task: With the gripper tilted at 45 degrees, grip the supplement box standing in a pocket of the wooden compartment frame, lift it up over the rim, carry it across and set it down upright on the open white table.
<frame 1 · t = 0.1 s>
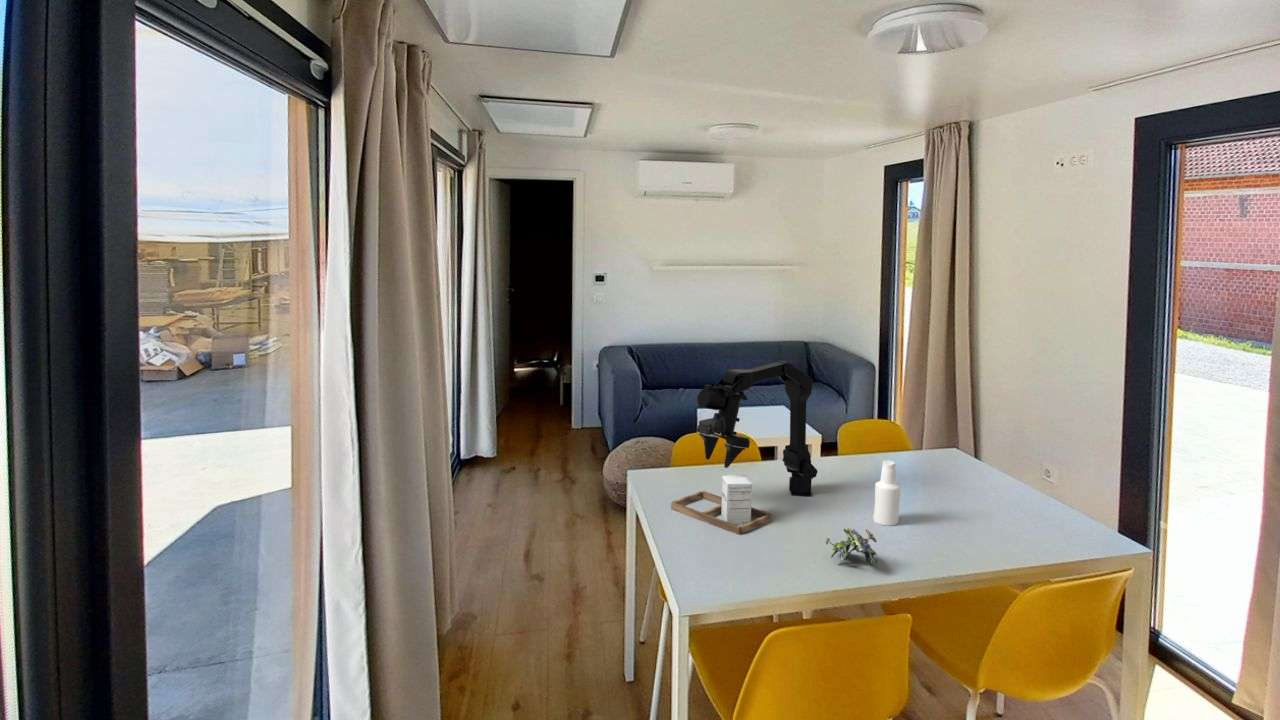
hand: (716, 463, 203), 15 cm above the table, tool pointing down, fingers open, 9 cm apart
wooden compartment frame: (735, 520, 200), on the table
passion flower: (852, 564, 173), on the table
spray bottle: (885, 522, 200), on the table
supplement box: (735, 521, 200), resting in wooden compartment frame
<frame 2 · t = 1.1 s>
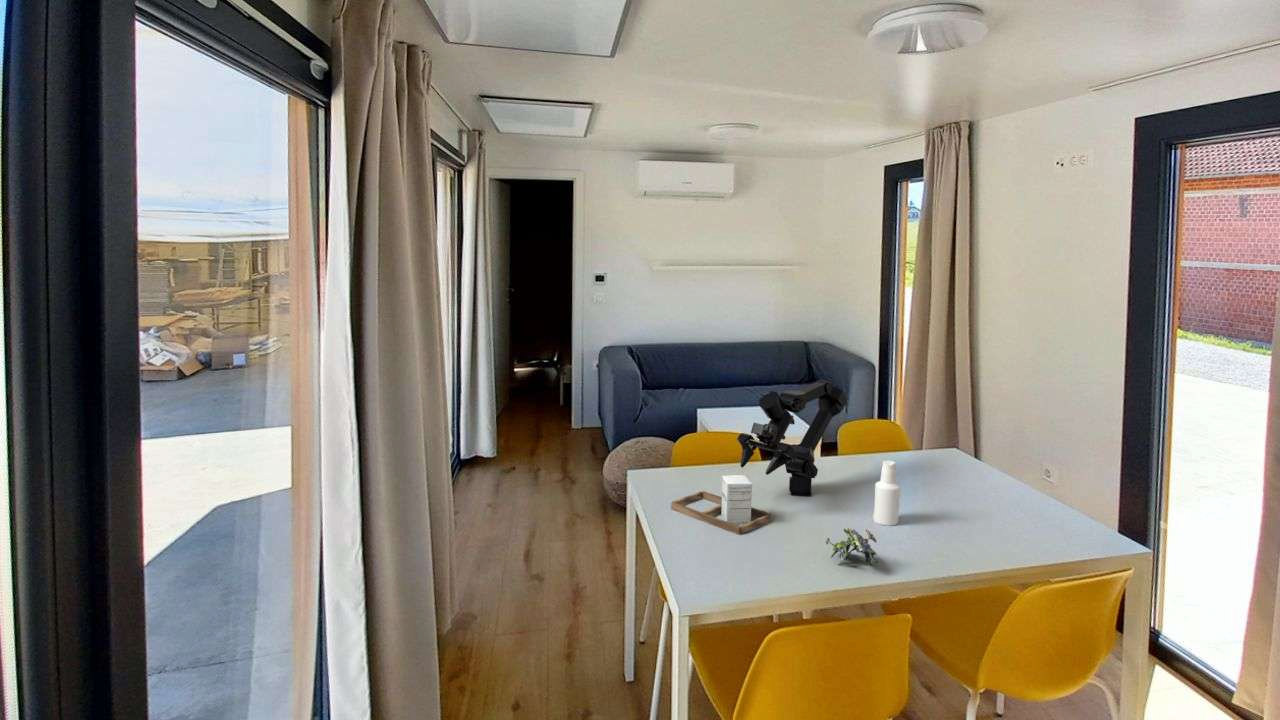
hand: (753, 470, 204), 13 cm above the table, tool tilted 45°, fingers open, 9 cm apart
nothing on the table moved.
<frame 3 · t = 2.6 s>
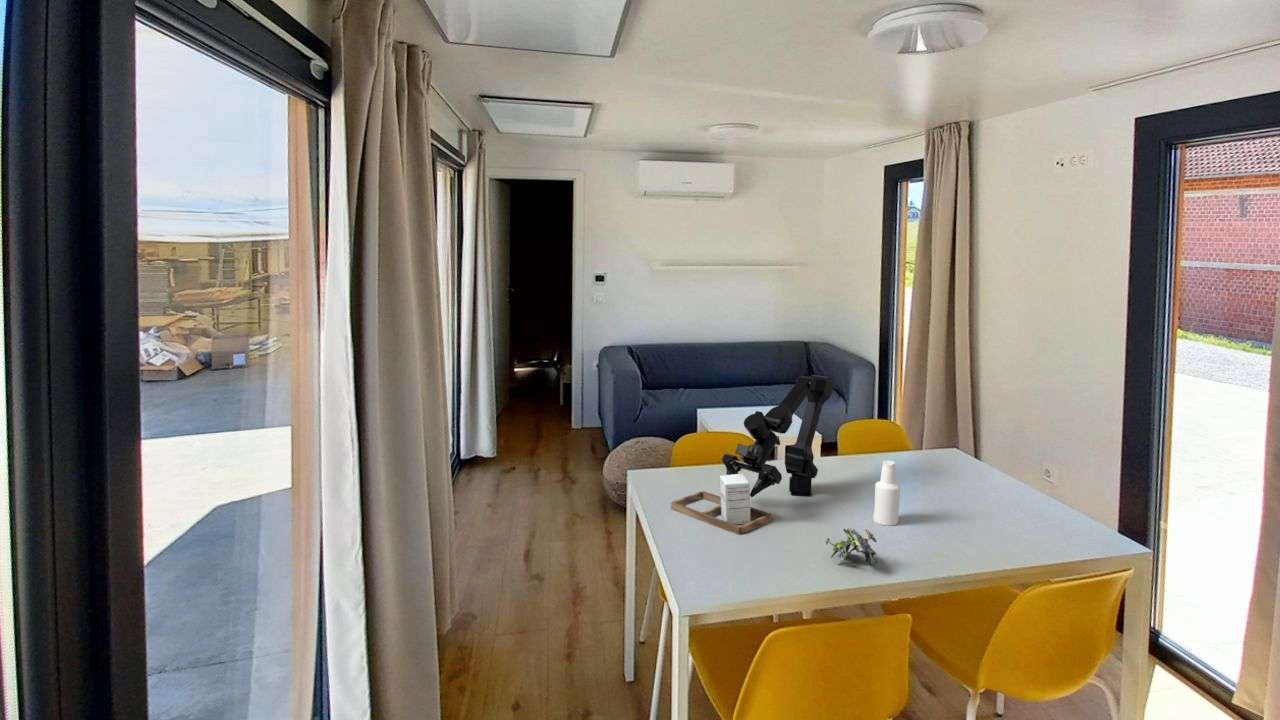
hand: (737, 492, 199), 8 cm above the table, tool tilted 45°, fingers open, 9 cm apart
supplement box: (735, 519, 200), resting in wooden compartment frame, touching gripper
everything else where it was.
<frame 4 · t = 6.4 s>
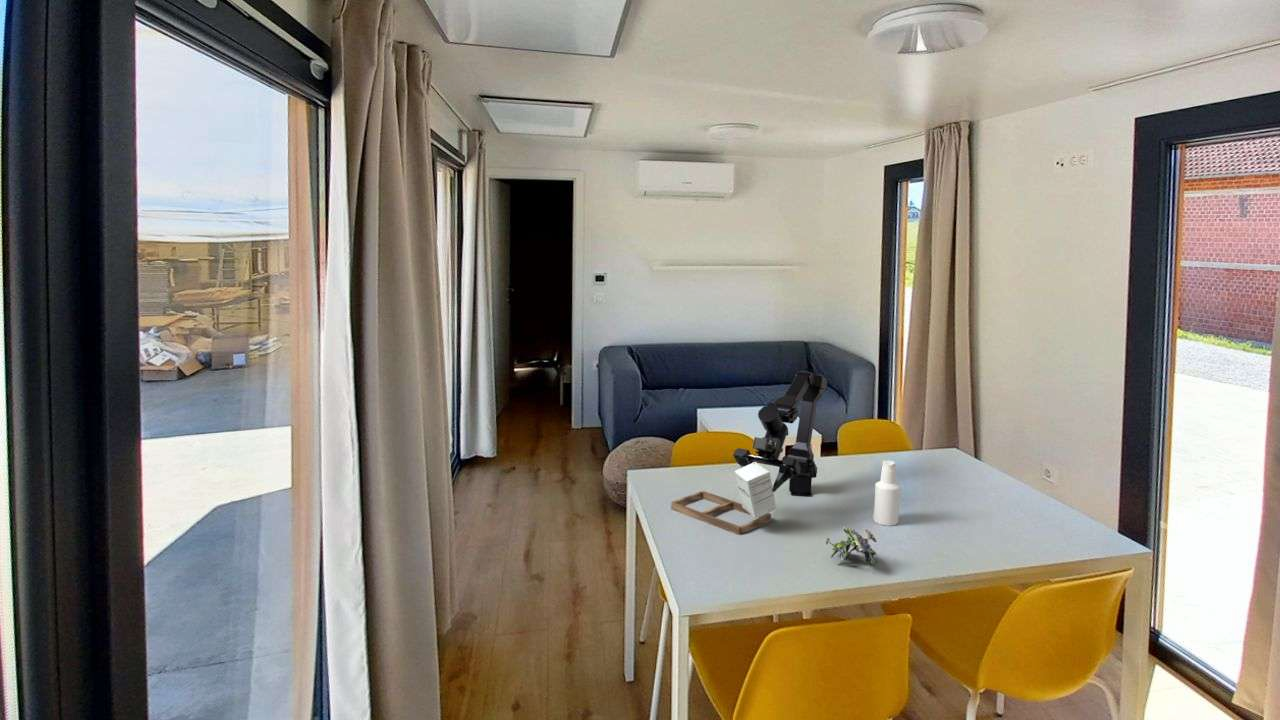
hand: (757, 487, 192), 12 cm above the table, tool tilted 45°, fingers closed on supplement box, 9 cm apart
supplement box: (759, 509, 194), point 6 cm above the table, touching gripper
everything else where it was.
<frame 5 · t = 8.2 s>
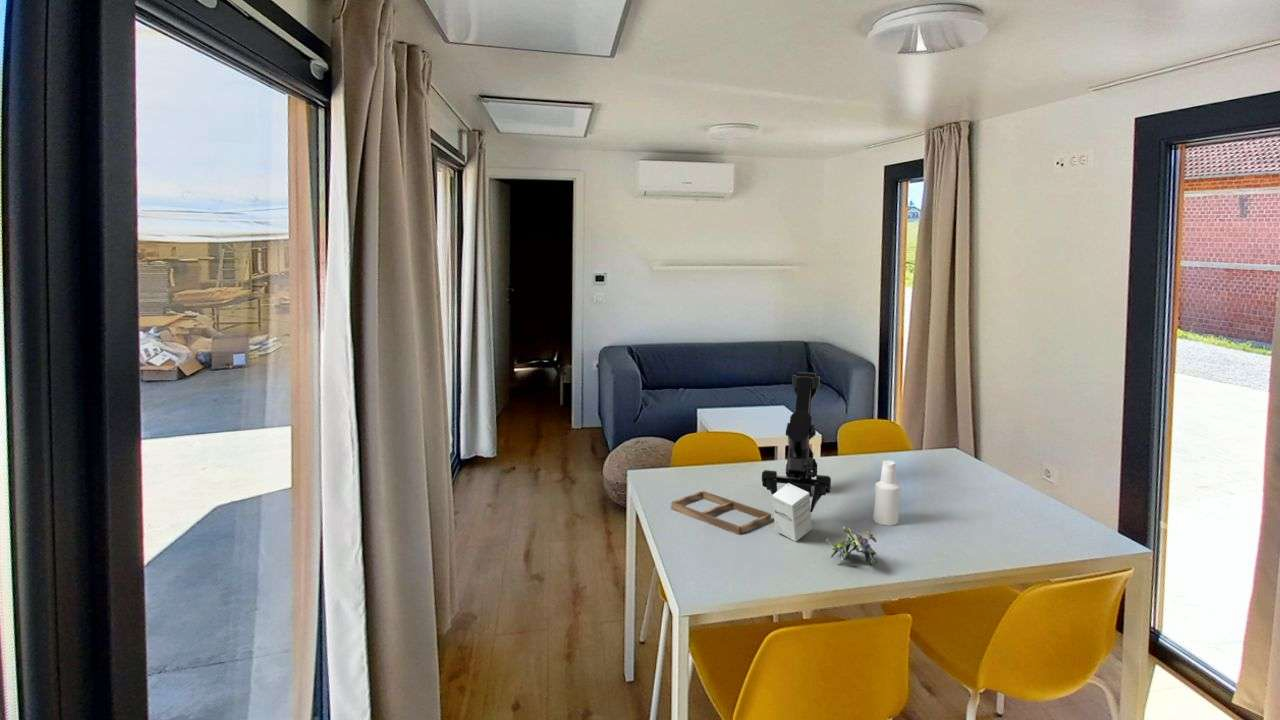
hand: (793, 509, 187), 8 cm above the table, tool tilted 45°, fingers closed on supplement box, 9 cm apart
supplement box: (793, 530, 190), point 1 cm above the table, touching gripper
everything else where it was.
when the fingers open (8 cm above the table, at t = 9.7 s): supplement box drops 1 cm, on the table.
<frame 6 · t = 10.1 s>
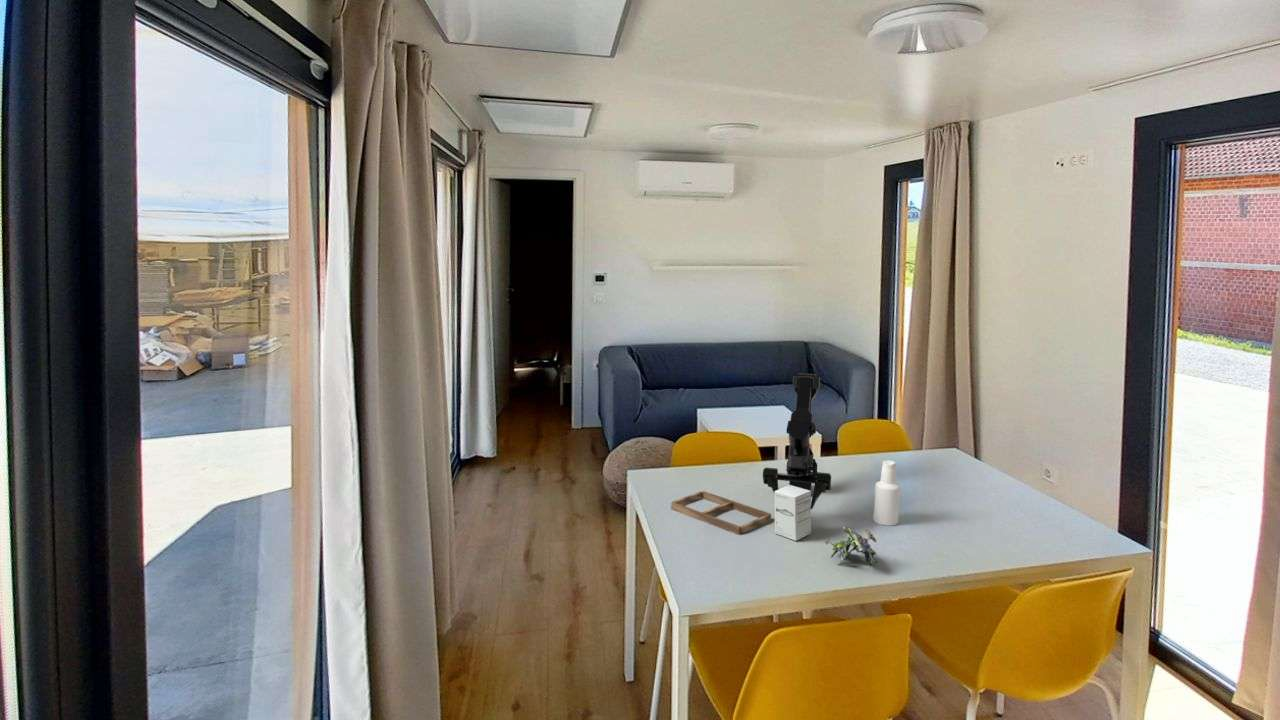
hand: (794, 506, 190), 8 cm above the table, tool tilted 45°, fingers open, 9 cm apart
supplement box: (793, 534, 190), on the table
everything else where it was.
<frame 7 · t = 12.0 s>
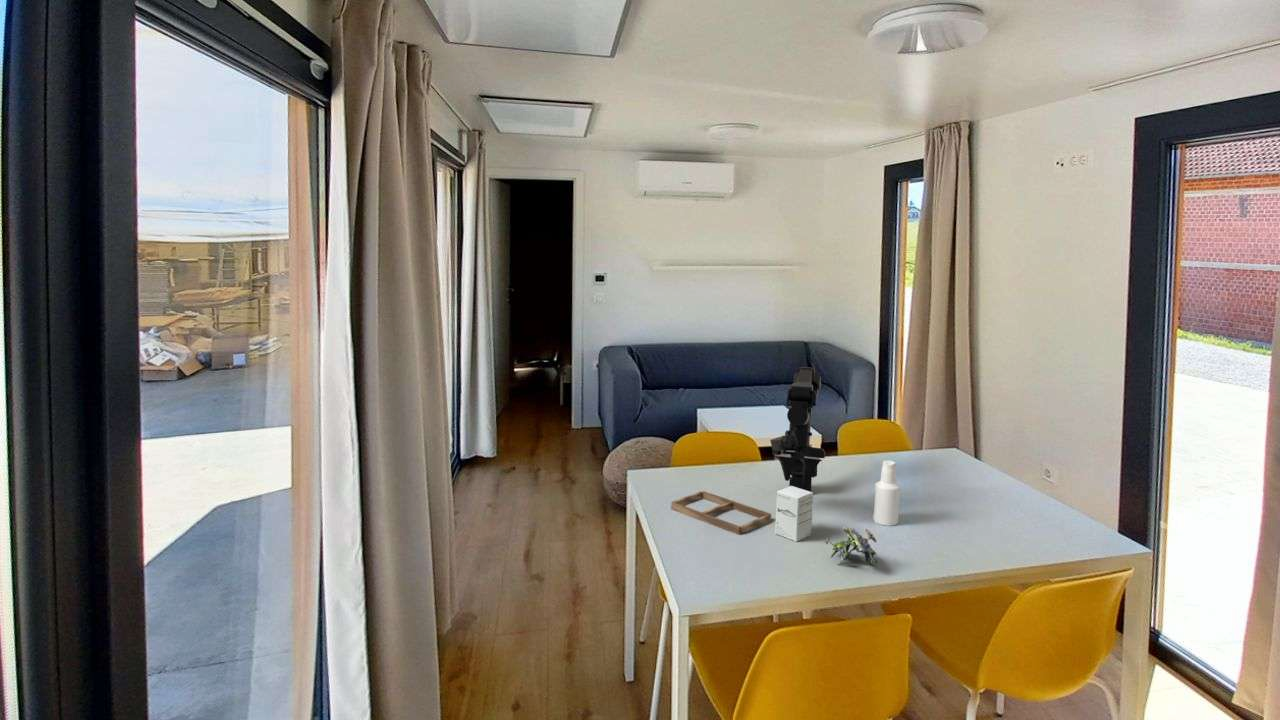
hand: (795, 481, 199), 12 cm above the table, tool tilted 20°, fingers open, 9 cm apart
nothing on the table moved.
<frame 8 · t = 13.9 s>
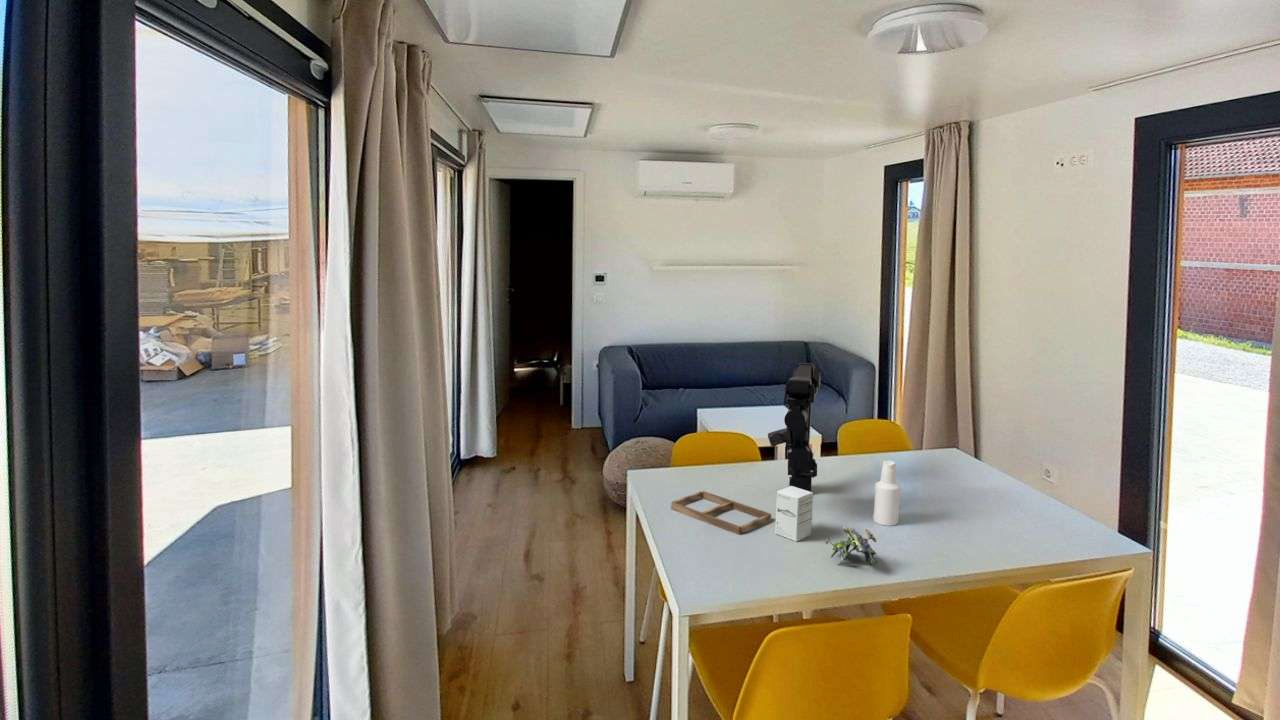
hand: (795, 473, 202), 13 cm above the table, tool pointing down, fingers open, 9 cm apart
nothing on the table moved.
at the end: supplement box inside the target area (0.6 cm from its centre), on the table; supplement box tilted 0°; the gripper is holding nothing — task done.
